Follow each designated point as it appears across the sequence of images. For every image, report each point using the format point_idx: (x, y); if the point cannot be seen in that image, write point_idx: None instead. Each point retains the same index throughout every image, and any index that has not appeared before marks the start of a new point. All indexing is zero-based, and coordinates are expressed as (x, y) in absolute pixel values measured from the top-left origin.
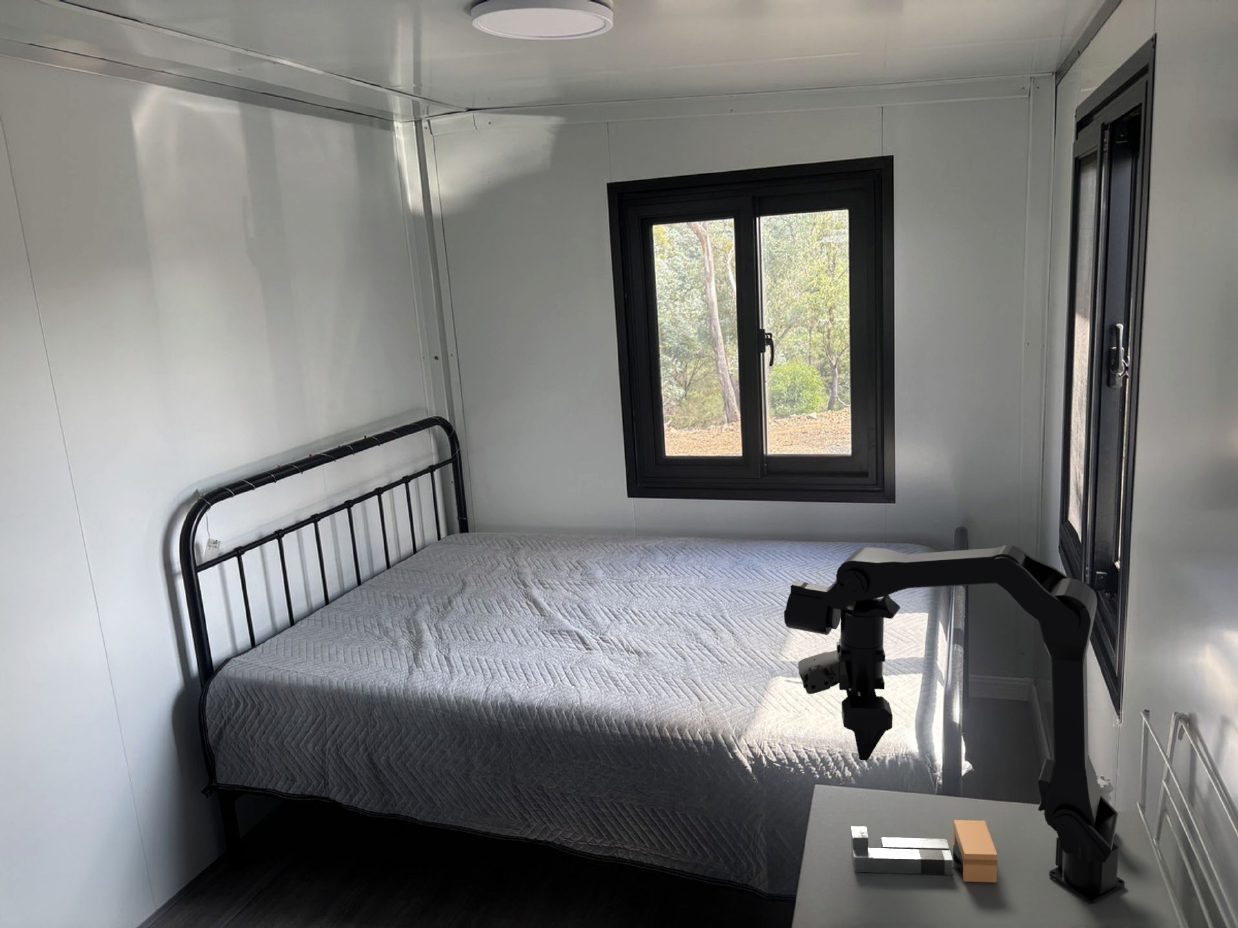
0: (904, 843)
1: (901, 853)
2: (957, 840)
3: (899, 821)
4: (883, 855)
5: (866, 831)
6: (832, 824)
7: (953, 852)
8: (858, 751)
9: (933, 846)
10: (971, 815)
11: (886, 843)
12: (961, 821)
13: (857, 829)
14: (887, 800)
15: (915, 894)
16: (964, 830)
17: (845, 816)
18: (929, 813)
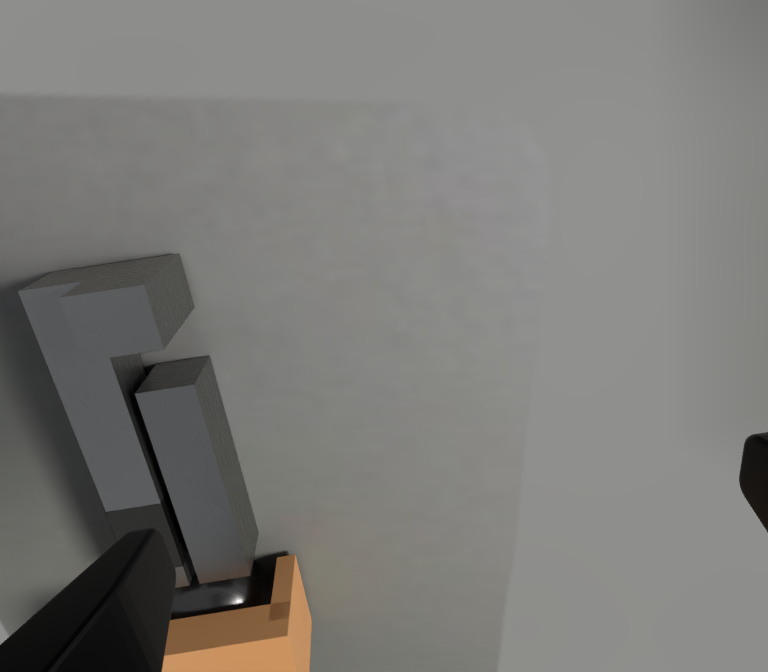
0: (182, 460)
1: (114, 454)
2: (222, 617)
3: (410, 403)
4: (77, 396)
5: (127, 352)
6: (347, 162)
7: (198, 585)
8: (37, 614)
9: (193, 544)
10: (473, 587)
11: (161, 402)
12: (284, 654)
13: (130, 313)
14: (535, 360)
15: (22, 460)
16: (231, 662)
17: (412, 213)
18: (470, 486)
